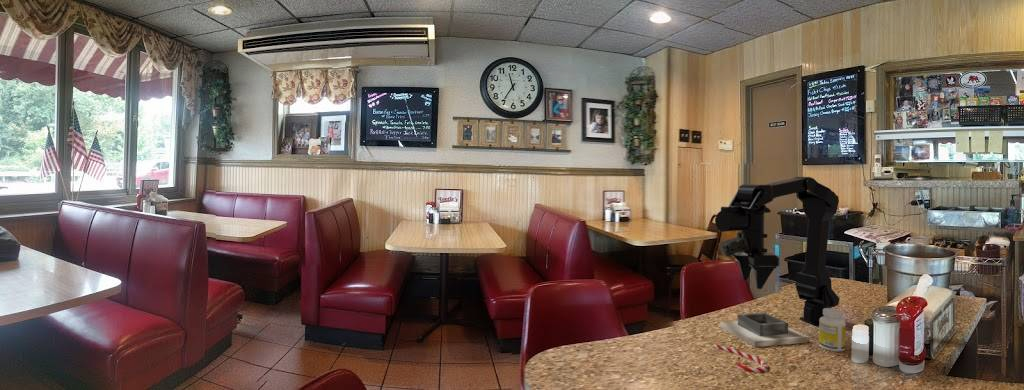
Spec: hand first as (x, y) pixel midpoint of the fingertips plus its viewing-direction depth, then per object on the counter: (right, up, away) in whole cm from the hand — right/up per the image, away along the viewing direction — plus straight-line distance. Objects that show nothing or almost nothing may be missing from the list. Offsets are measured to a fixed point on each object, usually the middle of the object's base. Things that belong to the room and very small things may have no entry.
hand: (752, 284), depth 118 cm
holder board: (+2, -14, -1) cm, 14 cm away
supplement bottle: (+15, -15, -10) cm, 23 cm away
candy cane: (-13, -16, -15) cm, 25 cm away
